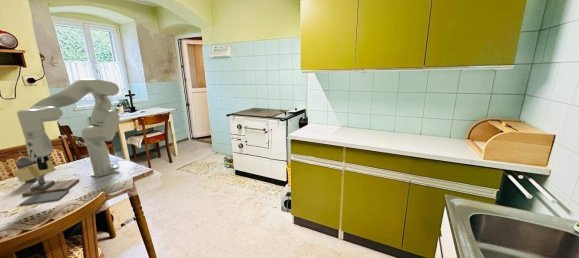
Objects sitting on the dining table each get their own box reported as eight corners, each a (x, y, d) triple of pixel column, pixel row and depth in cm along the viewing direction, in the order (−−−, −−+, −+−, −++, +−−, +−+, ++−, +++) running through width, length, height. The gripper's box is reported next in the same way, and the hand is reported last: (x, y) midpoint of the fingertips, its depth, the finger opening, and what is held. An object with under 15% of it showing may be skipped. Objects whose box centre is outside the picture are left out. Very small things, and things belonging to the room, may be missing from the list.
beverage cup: (28, 184, 138) (17, 153, 133) (19, 183, 140) (8, 152, 135) (43, 179, 145) (33, 149, 140) (34, 178, 147) (24, 148, 142)
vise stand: (79, 181, 142) (72, 158, 138) (67, 190, 131) (59, 165, 127) (38, 186, 137) (30, 162, 133) (22, 196, 125) (13, 170, 122)
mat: (69, 191, 129) (68, 190, 129) (58, 200, 121) (58, 198, 121) (33, 196, 125) (33, 195, 125) (20, 205, 117) (19, 204, 117)
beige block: (21, 182, 116) (13, 172, 114) (30, 177, 121) (23, 167, 119) (50, 173, 118) (43, 162, 116) (58, 168, 124) (51, 158, 122)
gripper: (32, 137, 109) (43, 173, 113) (55, 129, 124) (64, 161, 128) (11, 139, 107) (24, 176, 111) (37, 130, 122) (47, 163, 126)
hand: (45, 168), depth 120 cm, fingers closed on beige block
